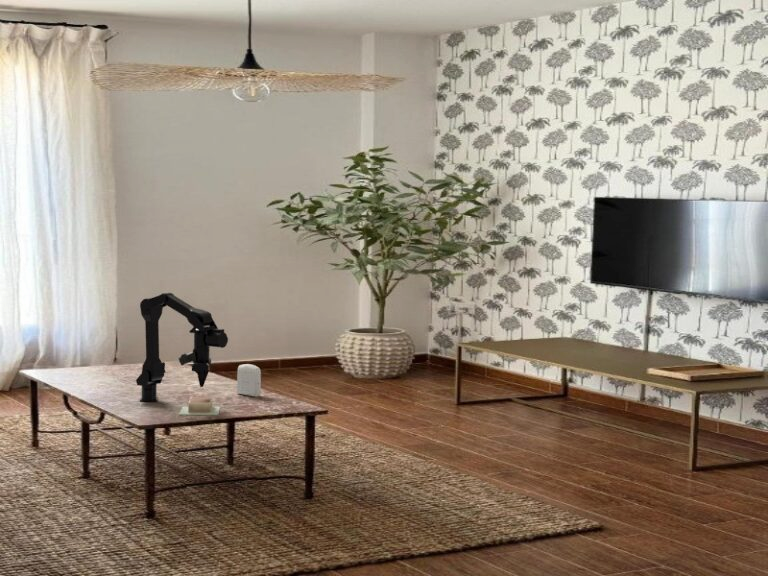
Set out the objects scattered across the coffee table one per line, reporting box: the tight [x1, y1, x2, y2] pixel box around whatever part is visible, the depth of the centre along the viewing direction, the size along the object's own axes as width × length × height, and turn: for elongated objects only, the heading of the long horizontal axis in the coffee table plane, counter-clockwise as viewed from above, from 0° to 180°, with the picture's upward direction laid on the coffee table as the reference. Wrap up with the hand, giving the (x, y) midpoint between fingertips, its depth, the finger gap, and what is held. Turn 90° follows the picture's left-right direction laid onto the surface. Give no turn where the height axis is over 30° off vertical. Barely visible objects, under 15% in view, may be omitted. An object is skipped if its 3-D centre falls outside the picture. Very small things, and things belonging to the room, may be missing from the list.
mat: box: [179, 406, 221, 416], centre depth 426 cm, size 14×14×1 cm
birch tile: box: [187, 396, 213, 413], centre depth 427 cm, size 4×8×12 cm
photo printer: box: [236, 363, 262, 398], centre depth 460 cm, size 10×4×12 cm, turn 56°
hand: (201, 386), depth 431 cm, fingers closed
